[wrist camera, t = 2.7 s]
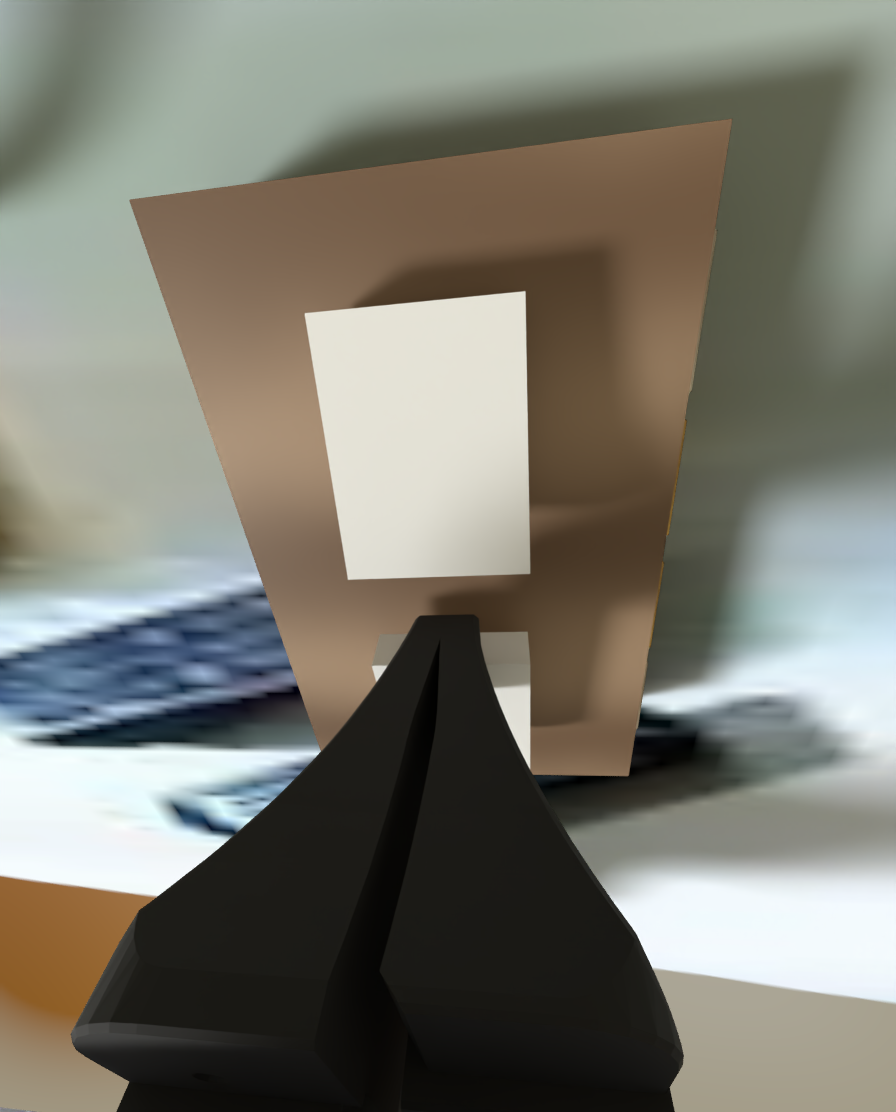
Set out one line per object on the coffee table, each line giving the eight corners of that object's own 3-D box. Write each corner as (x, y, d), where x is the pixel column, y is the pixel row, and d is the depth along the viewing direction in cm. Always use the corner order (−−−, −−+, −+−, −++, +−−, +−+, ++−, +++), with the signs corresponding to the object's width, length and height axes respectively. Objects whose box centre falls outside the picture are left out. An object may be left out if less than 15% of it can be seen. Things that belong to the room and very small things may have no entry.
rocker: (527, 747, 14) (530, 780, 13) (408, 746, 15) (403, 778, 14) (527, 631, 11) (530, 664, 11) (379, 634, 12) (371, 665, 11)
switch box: (617, 703, 18) (643, 793, 15) (350, 703, 19) (322, 787, 16) (685, 153, 10) (772, 104, 7) (213, 214, 11) (105, 195, 8)
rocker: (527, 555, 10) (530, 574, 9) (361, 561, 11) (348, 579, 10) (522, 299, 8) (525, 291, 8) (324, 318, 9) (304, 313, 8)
